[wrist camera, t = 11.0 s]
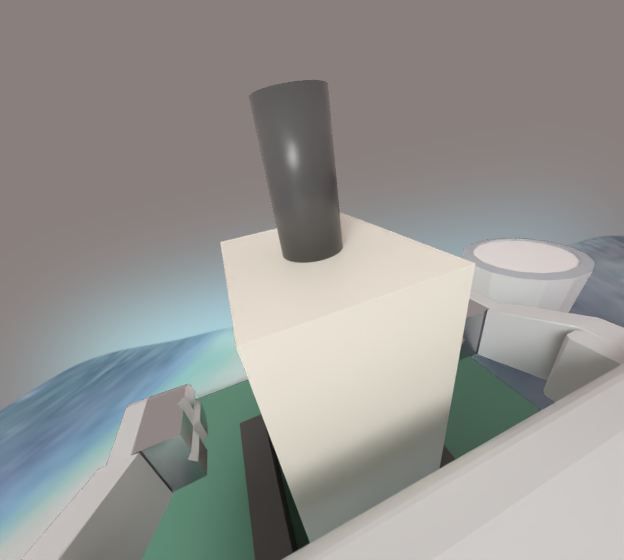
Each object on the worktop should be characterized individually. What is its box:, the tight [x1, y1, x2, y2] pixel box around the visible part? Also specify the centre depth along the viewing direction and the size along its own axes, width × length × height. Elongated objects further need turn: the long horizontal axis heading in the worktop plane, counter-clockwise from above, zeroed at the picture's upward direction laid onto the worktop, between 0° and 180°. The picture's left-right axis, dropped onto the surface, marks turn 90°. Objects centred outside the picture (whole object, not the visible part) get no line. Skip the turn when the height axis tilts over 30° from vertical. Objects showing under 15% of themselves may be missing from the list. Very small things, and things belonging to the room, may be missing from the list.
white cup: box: [463, 238, 595, 313], centre depth 19 cm, size 7×7×7 cm
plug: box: [221, 80, 476, 543], centre depth 8 cm, size 4×5×15 cm
